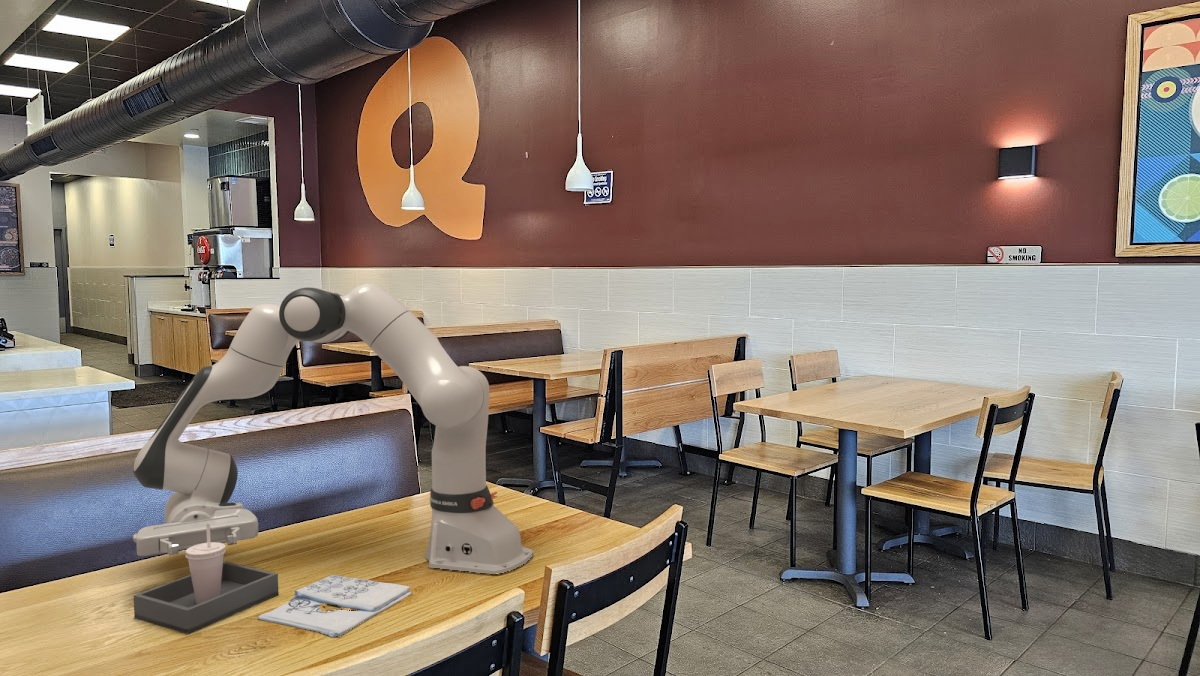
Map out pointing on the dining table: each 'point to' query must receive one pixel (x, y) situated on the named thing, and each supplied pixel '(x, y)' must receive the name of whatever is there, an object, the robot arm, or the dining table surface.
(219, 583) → the smoothie
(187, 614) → the tray
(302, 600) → the folded bicycle print cloth
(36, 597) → the dining table surface
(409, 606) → the dining table surface
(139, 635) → the dining table surface
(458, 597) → the dining table surface
